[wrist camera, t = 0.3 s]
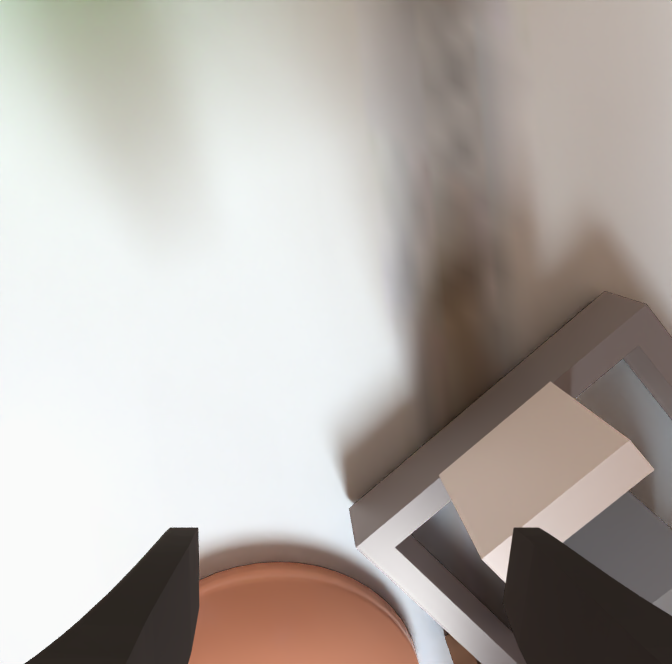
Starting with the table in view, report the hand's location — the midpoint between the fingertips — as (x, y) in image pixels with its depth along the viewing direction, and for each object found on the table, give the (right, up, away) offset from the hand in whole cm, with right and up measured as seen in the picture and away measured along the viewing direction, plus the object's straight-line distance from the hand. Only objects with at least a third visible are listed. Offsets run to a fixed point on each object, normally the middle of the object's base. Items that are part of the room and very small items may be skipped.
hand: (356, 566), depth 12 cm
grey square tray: (+9, -2, +10) cm, 14 cm away
